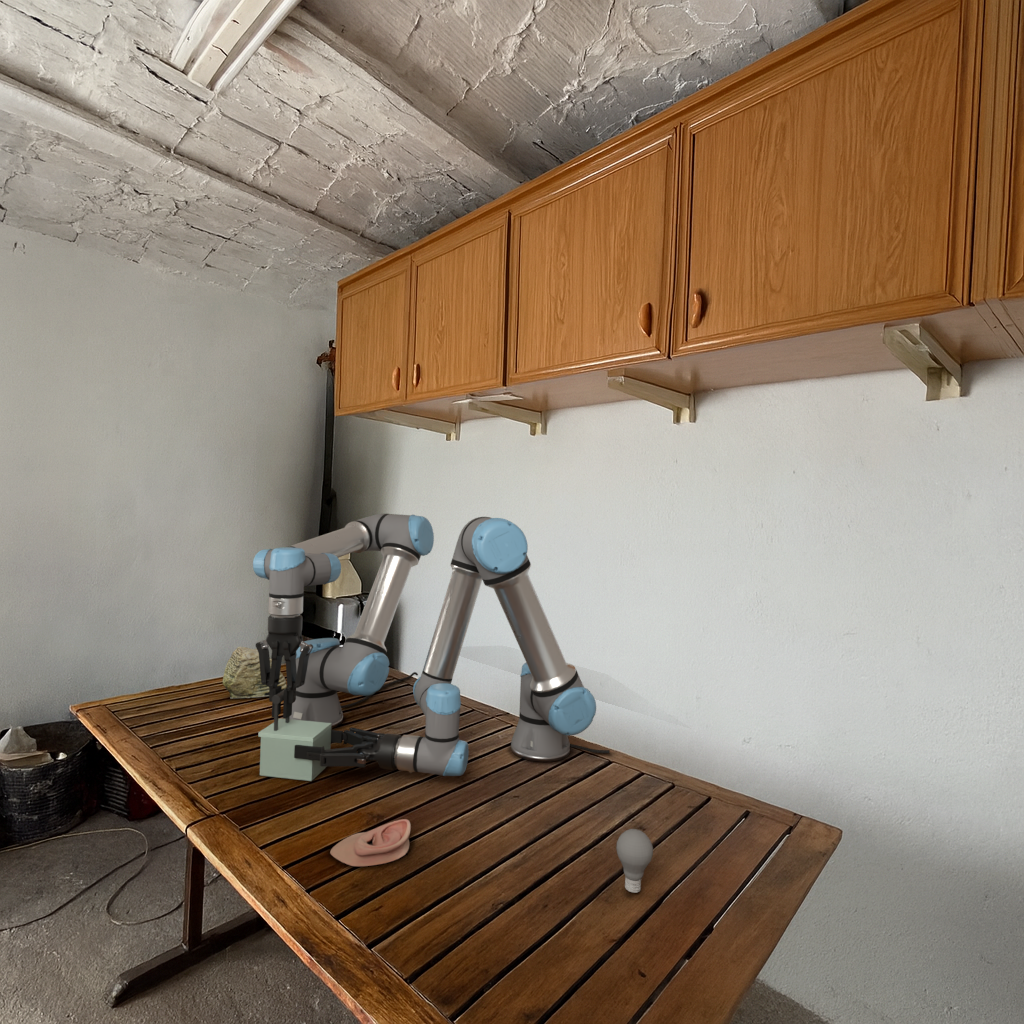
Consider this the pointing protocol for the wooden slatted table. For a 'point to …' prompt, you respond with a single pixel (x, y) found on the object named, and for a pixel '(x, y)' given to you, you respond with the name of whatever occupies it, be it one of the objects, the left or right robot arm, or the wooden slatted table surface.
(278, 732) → the lid
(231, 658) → the fossil
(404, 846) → the anatomical model
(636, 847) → the light bulb
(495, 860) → the wooden slatted table surface
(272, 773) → the chest
